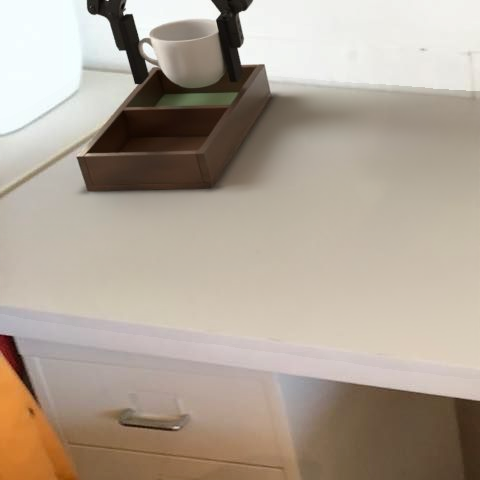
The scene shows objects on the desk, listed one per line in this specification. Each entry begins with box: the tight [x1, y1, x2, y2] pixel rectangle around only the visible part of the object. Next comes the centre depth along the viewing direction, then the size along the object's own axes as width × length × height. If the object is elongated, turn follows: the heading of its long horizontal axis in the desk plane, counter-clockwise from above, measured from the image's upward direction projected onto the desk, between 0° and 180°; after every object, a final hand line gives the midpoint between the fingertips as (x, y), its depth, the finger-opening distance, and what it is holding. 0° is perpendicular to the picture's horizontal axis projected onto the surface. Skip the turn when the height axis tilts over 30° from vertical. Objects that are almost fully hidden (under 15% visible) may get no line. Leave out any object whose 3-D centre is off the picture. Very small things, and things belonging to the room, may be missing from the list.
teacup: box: [138, 18, 227, 88], centre depth 142 cm, size 10×8×5 cm
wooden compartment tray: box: [76, 63, 272, 192], centre depth 141 cm, size 13×25×4 cm, turn 178°
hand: (189, 78), depth 143 cm, fingers closed on teacup, 10 cm apart
